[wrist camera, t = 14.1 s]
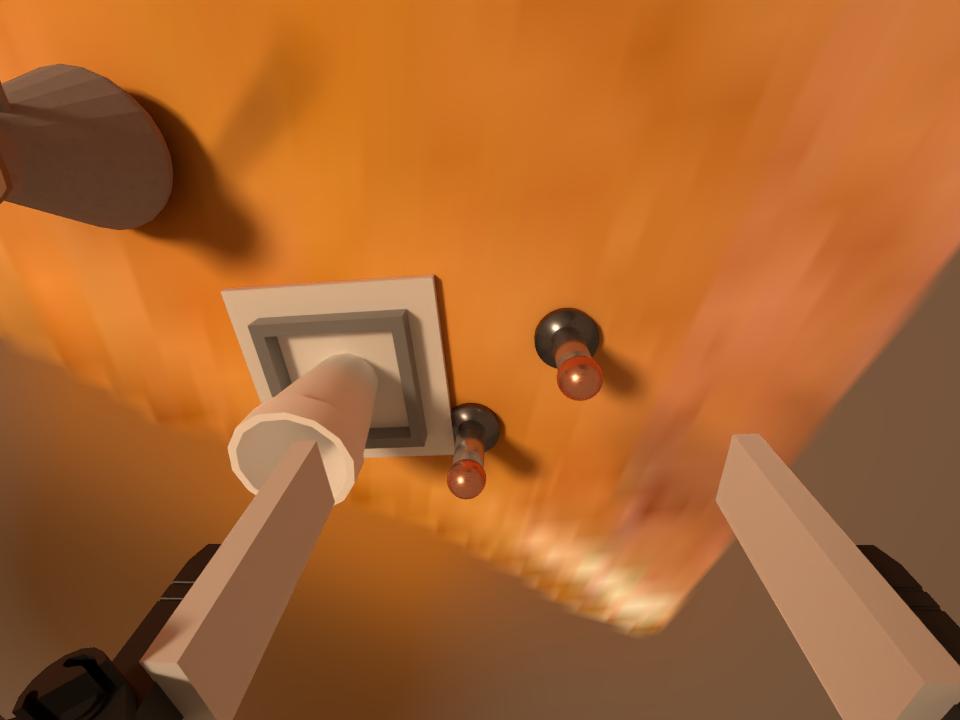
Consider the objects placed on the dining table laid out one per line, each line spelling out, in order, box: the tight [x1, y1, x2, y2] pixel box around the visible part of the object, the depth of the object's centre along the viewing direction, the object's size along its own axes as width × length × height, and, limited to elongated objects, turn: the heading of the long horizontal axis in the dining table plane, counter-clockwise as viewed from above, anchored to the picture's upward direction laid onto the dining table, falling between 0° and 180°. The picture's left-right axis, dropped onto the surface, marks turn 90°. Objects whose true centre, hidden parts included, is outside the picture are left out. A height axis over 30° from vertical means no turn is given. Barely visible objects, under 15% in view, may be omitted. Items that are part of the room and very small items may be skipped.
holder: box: [221, 274, 455, 458], centre depth 42 cm, size 20×20×3 cm
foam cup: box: [228, 352, 379, 506], centre depth 37 cm, size 10×9×13 cm
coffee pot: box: [0, 64, 174, 230], centre depth 27 cm, size 21×12×15 cm, turn 149°
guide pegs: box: [443, 308, 603, 499], centre depth 39 cm, size 6×20×10 cm, turn 140°
